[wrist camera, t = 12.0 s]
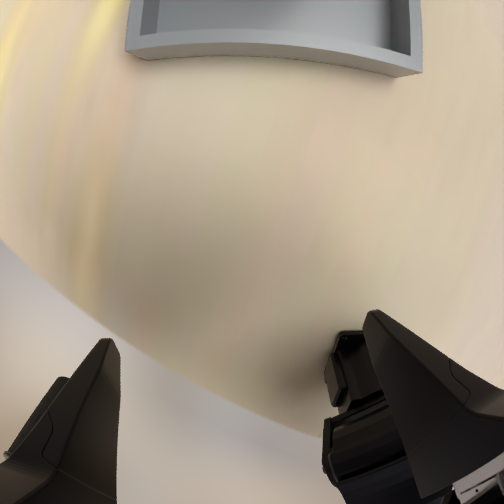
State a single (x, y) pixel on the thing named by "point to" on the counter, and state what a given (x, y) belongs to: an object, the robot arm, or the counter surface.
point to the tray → (283, 31)
